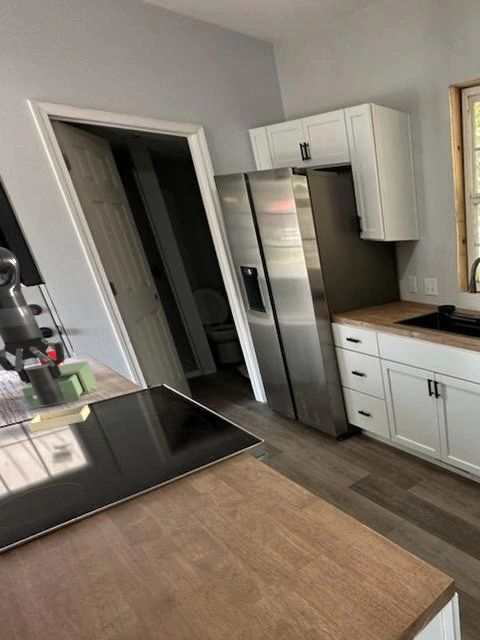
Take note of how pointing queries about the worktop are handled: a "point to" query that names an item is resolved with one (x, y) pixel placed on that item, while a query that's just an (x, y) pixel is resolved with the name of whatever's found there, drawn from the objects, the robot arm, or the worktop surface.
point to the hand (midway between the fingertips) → (43, 380)
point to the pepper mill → (44, 384)
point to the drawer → (68, 385)
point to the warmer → (80, 374)
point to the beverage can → (52, 354)
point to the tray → (59, 418)
